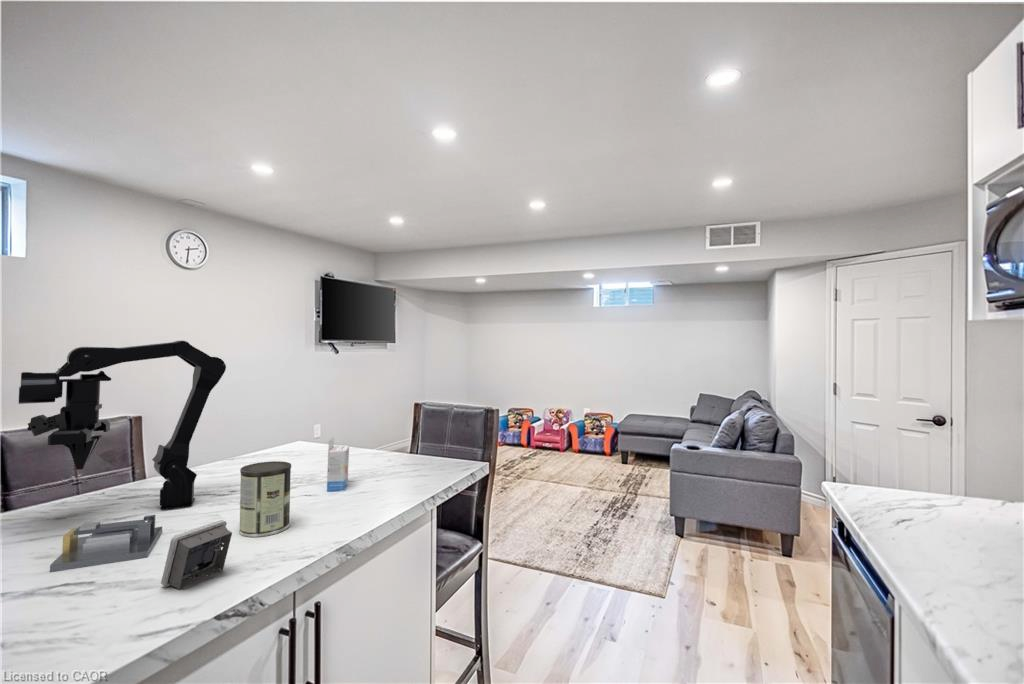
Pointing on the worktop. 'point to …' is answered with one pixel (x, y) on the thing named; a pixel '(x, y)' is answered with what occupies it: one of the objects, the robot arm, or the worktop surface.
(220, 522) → the electrical switch
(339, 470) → the ink box
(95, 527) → the grey long bar
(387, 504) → the worktop surface
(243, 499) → the coffee can
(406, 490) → the worktop surface
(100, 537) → the toggle clamp fixture
